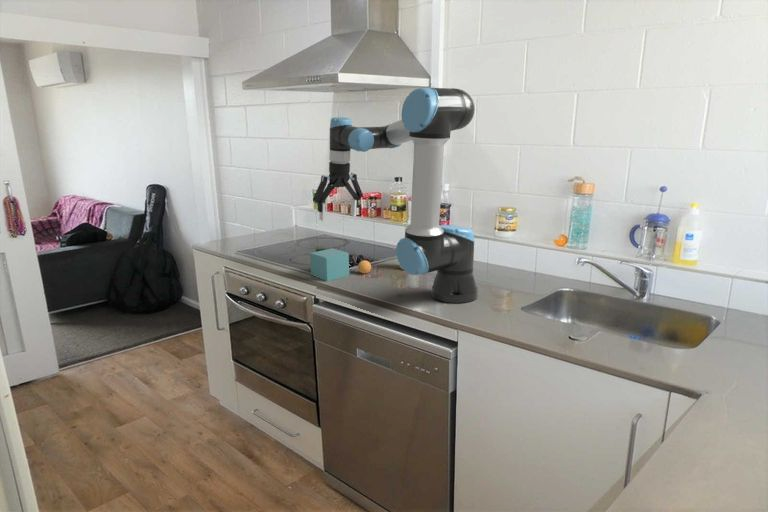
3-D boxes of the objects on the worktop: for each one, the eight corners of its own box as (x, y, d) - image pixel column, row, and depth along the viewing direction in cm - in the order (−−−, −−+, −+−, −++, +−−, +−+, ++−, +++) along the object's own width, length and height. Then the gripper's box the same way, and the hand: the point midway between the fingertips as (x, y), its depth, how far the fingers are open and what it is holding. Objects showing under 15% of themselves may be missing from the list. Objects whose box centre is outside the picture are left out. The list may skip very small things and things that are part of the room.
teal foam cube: (349, 275, 195) (348, 252, 193) (327, 281, 189) (326, 257, 186) (333, 270, 202) (332, 248, 200) (311, 275, 196) (310, 253, 194)
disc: (366, 267, 206) (366, 266, 206) (342, 273, 198) (342, 272, 198) (347, 261, 214) (347, 261, 214) (323, 267, 207) (323, 266, 207)
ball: (373, 273, 197) (373, 260, 196) (363, 275, 194) (363, 263, 193) (365, 270, 201) (365, 258, 200) (355, 273, 198) (355, 260, 196)
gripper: (362, 158, 198) (360, 211, 205) (303, 161, 184) (303, 219, 191) (373, 161, 192) (370, 216, 200) (313, 165, 178) (313, 224, 186)
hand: (337, 218), depth 195 cm, fingers open, 13 cm apart
